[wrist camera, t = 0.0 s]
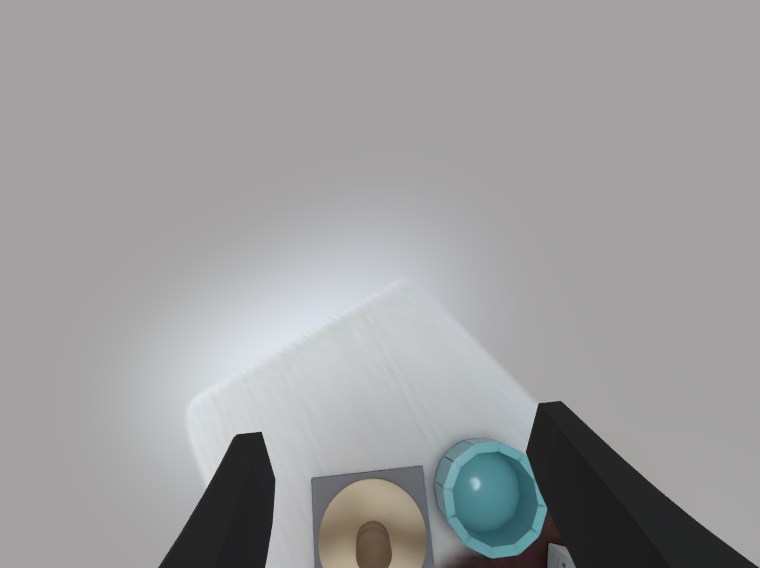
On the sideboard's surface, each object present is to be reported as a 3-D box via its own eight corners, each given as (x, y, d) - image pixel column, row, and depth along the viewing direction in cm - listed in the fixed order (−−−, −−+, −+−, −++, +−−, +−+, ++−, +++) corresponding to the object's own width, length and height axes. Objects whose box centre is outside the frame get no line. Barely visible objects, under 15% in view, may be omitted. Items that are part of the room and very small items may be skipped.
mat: (436, 594, 37) (437, 597, 36) (317, 610, 36) (316, 613, 36) (421, 465, 40) (422, 466, 40) (311, 478, 39) (311, 479, 39)
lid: (431, 591, 37) (442, 618, 32) (322, 605, 36) (316, 636, 31) (418, 472, 39) (425, 481, 35) (316, 483, 39) (310, 494, 34)
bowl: (532, 532, 39) (556, 549, 34) (441, 544, 38) (452, 563, 33) (514, 434, 41) (534, 437, 37) (428, 443, 41) (437, 448, 36)
